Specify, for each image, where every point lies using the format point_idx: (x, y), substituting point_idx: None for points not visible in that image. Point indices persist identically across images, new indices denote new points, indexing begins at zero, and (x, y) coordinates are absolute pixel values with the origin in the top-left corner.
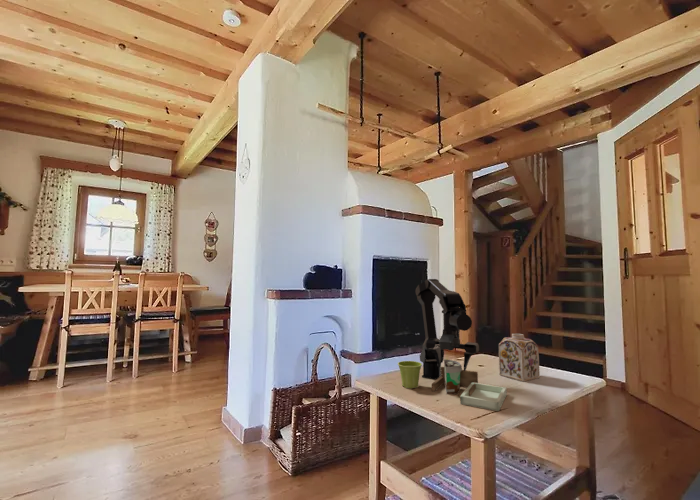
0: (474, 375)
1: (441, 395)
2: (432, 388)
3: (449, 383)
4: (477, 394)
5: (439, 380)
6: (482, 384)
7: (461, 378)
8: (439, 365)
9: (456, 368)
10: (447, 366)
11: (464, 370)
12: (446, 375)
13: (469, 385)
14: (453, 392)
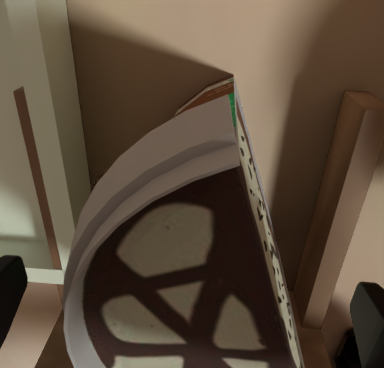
0: (65, 346)
1: (268, 11)
2: (368, 98)
3: (202, 102)
4: (11, 143)
5: (323, 247)
6: None
7: None
8: (377, 298)
9: (82, 230)
10: (245, 284)
11: (8, 257)
12: (233, 113)
13: (70, 212)
14: (180, 107)
